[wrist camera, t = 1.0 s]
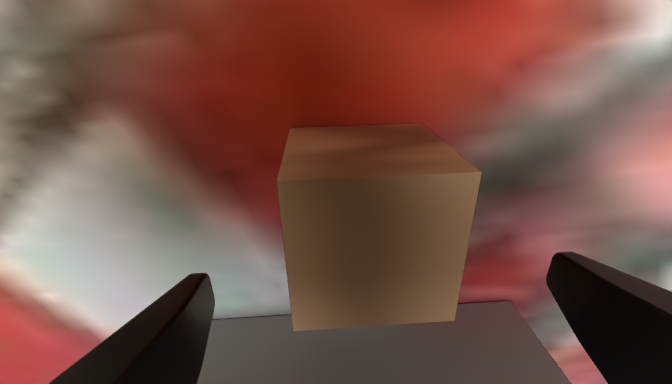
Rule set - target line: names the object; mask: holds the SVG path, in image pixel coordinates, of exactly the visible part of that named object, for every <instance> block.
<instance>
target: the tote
mask: <svg viewBox="0 0 672 384" xmlns="http://www.w3.org/2000/svg"><path fill="white" fill-rule="evenodd" d="M197 384H571V382H570V381H569V380H568V378H567V377H566V375H565V374H564V373H563V371H562V370H561V369H560V367H559V366H558V365H557V363H556V362H555V361H554V359H553V358H552V357H551V355H550V354H549V352H548V351H547V350H546V348H545V347H544V346H543V344H542V343H541V342H540V340H539V339H538V338H537V336H536V335H535V333H534V332H533V331H532V329H531V328H530V327H529V325H528V324H527V323H526V321H525V320H524V319H523V317H522V316H521V315H520V313H519V312H518V310H517V309H516V308H515V306H514V305H513V304H512V302H511V301H499V302H483V303H468V304H457V310H456V315H455V321H442V322H426V323H411V324H396V325H381V326H365V327H350V328H335V329H320V330H304V331H293V324H292V315H281V316H266V317H250V318H234V319H219V320H212V321H211V326H210V331H209V336H208V341H207V346H206V351H205V356H204V360H203V365H202V368H201V372H200V375H199V378H198V381H197Z"/></svg>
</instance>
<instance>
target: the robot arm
mask: <svg viewBox="0 0 672 384" xmlns="http://www.w3.org/2000/svg"><path fill="white" fill-rule="evenodd" d="M546 282H547V285H548V288H549V289H550V291H551V293H552V295H553V297H554V298H555V300H556V302H557V304H558V305H559V307H560V309H561V311H562V312H563V314H564V316H565V318H566V320H567V321H568V323H569V325H570V327H571V328H572V330H573V332H574V334H575V335H576V337H577V339H578V340H579V342H580V343H581V345H582V346H583V348H584V349H585V351H586V352H587V354H588V355H589V357H590V358H591V359H592V361H593V362H594V364H595V365H596V367H597V368H598V370H599V371H600V372H601V374H602V375H603V377H604V378H605V380H606V381H607V383H608V384H672V292H671V291H668V290H666V289H663V288H661V287H658V286H656V285H653V284H651V283H649V282H646V281H644V280H641V279H639V278H636V277H634V276H631V275H629V274H626V273H624V272H621V271H619V270H616V269H614V268H612V267H609V266H607V265H604V264H602V263H599V262H597V261H594V260H592V259H589V258H587V257H584V256H582V255H580V254H577V253H574V252H558V253H556V254H555V255H554V256H553V258H552V261H551V264H550V267H549V270H548V273H547V277H546ZM214 306H215V298H214V293H213V289H212V285H211V281H210V277H209V275H208V274H207V273H194V274H190V275H188V276H187V277H186V278H184V279H183V280H182V281H180V282H179V283H178V284H177V285H175V286H174V287H173V288H171V289H170V290H169V291H168V292H166V293H165V294H164V295H162V296H161V297H160V298H158V299H157V300H156V301H155V302H153V303H152V304H151V305H149V306H148V307H147V308H145V309H144V310H143V311H142V312H140V313H139V314H138V315H136V316H135V317H134V318H133V319H131V320H130V321H129V322H127V323H126V324H125V325H123V326H122V327H121V328H120V329H118V330H117V331H116V332H114V333H113V334H112V335H111V336H109V337H108V338H107V339H105V340H104V341H103V342H101V343H100V344H99V345H98V346H96V347H95V348H94V349H92V350H91V351H90V352H89V353H87V354H86V355H85V356H83V357H82V358H81V359H79V360H78V361H77V362H76V363H74V364H73V365H72V366H70V367H69V368H68V369H66V370H65V371H64V372H63V373H61V374H60V375H59V376H57V377H56V378H55V379H54V380H52V381H51V382H50V383H49V384H197V381H198V378H199V375H200V372H201V368H202V365H203V360H204V356H205V351H206V346H207V341H208V336H209V331H210V326H211V321H212V317H213V312H214Z"/></svg>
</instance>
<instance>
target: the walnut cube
mask: <svg viewBox="0 0 672 384" xmlns="http://www.w3.org/2000/svg"><path fill="white" fill-rule="evenodd" d="M481 174H482V172H481V171H480V170H479V169H478V168H476V167H475V166H474V165H473V164H472V163H470V162H469V161H468V160H467V159H466V158H464V157H463V156H462V155H461V154H460V153H458V152H457V151H456V150H455V149H453V148H452V147H451V146H450V145H449V144H447V143H446V142H445V141H444V140H443V139H441V138H440V137H439V136H438V135H436V134H435V133H434V132H433V131H432V130H430V129H429V128H428V127H427V126H426V125H424V124H423V123H404V124H378V125H352V126H326V127H300V128H290V130H289V134H288V138H287V142H286V146H285V150H284V154H283V158H282V162H281V166H280V170H279V174H278V178H277V190H278V199H279V207H280V216H281V225H282V234H283V243H284V252H285V261H286V270H287V279H288V288H289V297H290V306H291V315H292V324H293V331H304V330H320V329H335V328H350V327H365V326H381V325H396V324H411V323H426V322H442V321H455V315H456V310H457V304H458V299H459V293H460V288H461V283H462V277H463V272H464V266H465V261H466V255H467V250H468V244H469V239H470V234H471V228H472V223H473V217H474V212H475V206H476V201H477V196H478V190H479V185H480V179H481Z"/></svg>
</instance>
